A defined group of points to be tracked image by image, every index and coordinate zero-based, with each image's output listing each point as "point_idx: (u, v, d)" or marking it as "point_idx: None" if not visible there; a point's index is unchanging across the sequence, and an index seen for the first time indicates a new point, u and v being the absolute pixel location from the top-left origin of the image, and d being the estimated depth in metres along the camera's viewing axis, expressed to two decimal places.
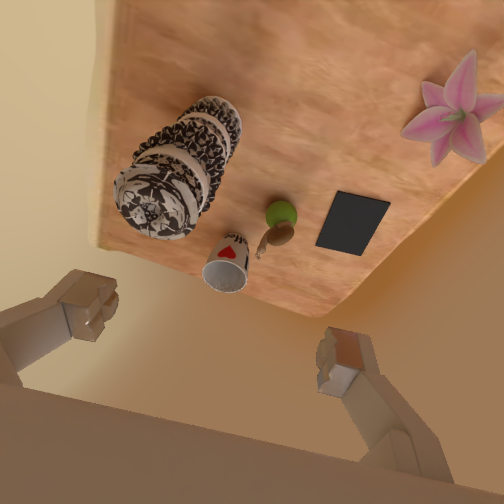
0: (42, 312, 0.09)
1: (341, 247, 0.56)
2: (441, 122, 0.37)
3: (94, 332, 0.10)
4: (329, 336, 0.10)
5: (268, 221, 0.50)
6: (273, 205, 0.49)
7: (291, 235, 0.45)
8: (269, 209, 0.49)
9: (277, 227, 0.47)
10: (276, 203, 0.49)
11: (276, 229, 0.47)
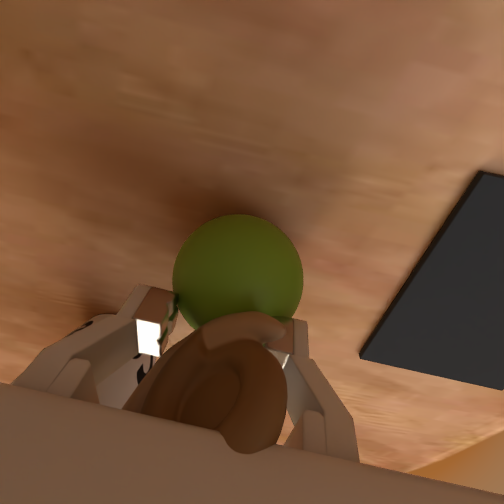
0: (119, 329, 0.09)
1: (445, 365, 0.17)
2: None
3: (162, 347, 0.10)
4: None
5: (178, 304, 0.11)
6: (196, 235, 0.11)
7: (266, 445, 0.06)
8: (180, 252, 0.11)
9: (201, 348, 0.09)
10: (209, 226, 0.11)
11: (194, 362, 0.09)
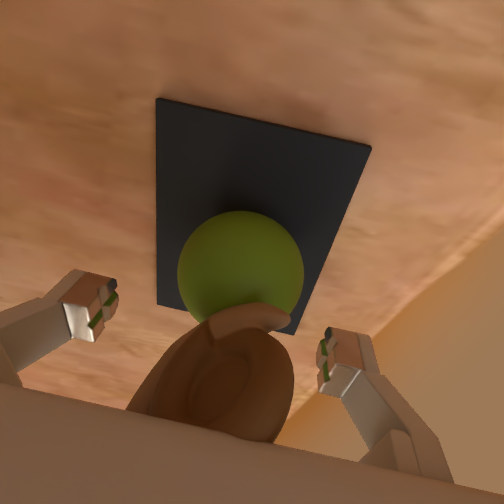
0: (42, 312, 0.09)
1: None
2: None
3: (94, 332, 0.10)
4: (329, 336, 0.10)
5: (183, 298, 0.12)
6: (200, 230, 0.11)
7: (276, 423, 0.07)
8: (185, 248, 0.12)
9: (209, 338, 0.09)
10: (213, 222, 0.12)
11: (202, 351, 0.09)
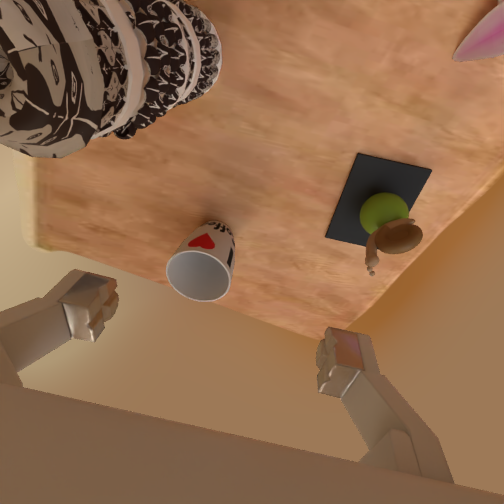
0: (42, 312, 0.09)
1: (361, 238, 0.41)
2: None
3: (94, 332, 0.10)
4: (329, 336, 0.10)
5: (368, 222, 0.35)
6: (375, 198, 0.34)
7: (421, 236, 0.29)
8: (369, 204, 0.34)
9: (389, 228, 0.32)
10: (379, 195, 0.34)
11: (388, 230, 0.32)
